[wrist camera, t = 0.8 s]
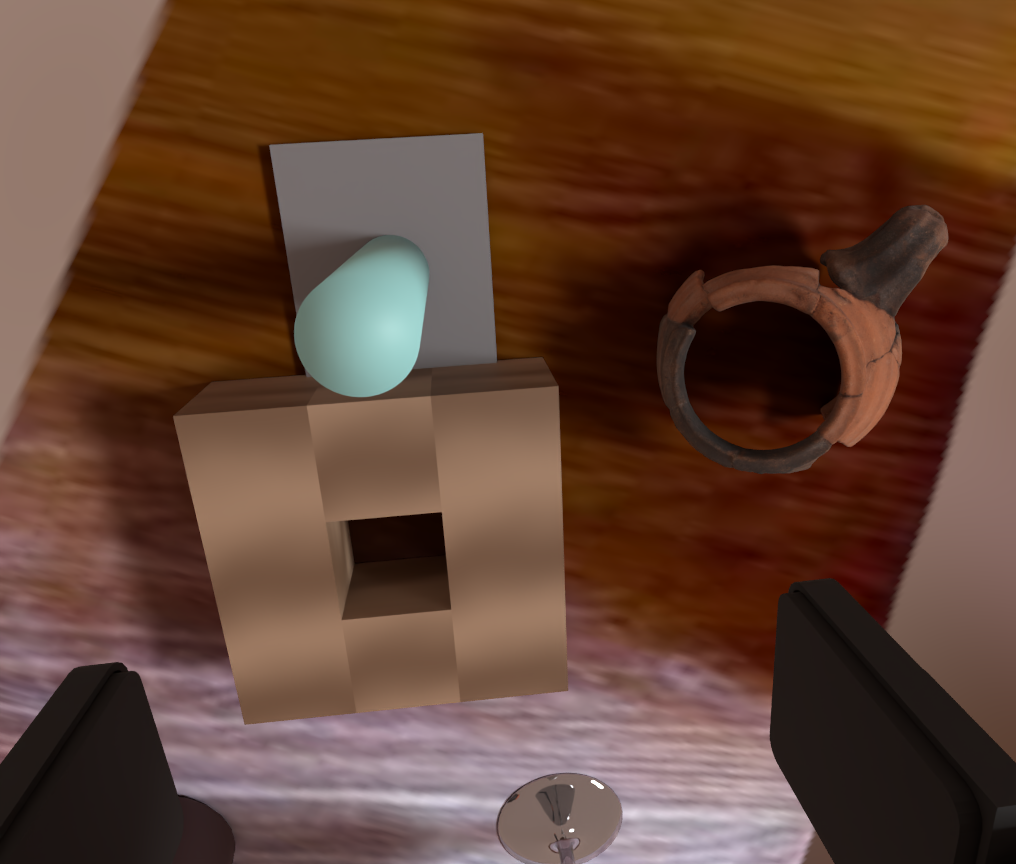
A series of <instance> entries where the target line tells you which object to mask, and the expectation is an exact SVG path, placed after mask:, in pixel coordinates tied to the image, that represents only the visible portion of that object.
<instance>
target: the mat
mask: <svg viewBox="0 0 1016 864" xmlns="http://www.w3.org/2000/svg"><path fill="white" fill-rule="evenodd" d="M269 146H270V153H271V159H272V165H273V171H274V178H275V184H276V190H277V196H278V203H279V209H280V215H281V221H282V228H283V234H284V240H285V246H286V253H287V259H288V265H289V271H290V278H291V284H292V290H293V296H294V303H295V309H296V315H297V313H298V310H299V308H300V306H301V304H302V303H303V301H304V300H305V298H306V297H307V296H308V295H309V293H310V292H311V291H312V290H313V289H315V288H316V287H317V286H318V285H319V284H320V283H322V282H323V281H324V280H325V279H326V278H327V277H328V276H330V275H331V274H332V273H333V272H334V271H335V270H337V269H338V268H339V267H340V266H341V265H342V264H343V263H345V262H346V261H347V260H348V259H349V258H350V257H352V256H353V255H354V254H355V253H356V252H357V251H358V250H360V249H361V248H362V247H363V246H364V245H365V244H367V243H368V242H369V241H371V240H372V239H374V238H377V237H380V236H384V235H396V236H401V237H404V238H406V239H408V240H410V241H412V242H413V243H414V244H415V245H417V246H418V247H419V248H420V250H421V251H422V252H423V254H424V256H425V258H426V260H427V263H428V266H429V284H428V291H427V298H426V305H425V313H424V320H423V327H422V334H421V341H420V348H419V353H418V357H417V359H416V362H415V364H414V366H413V368H412V369H421V368H435V367H448V366H461V365H475V364H488V363H497V353H496V337H495V321H494V305H493V289H492V273H491V257H490V241H489V224H488V208H487V192H486V176H485V160H484V144H483V133H477V134H459V135H441V136H423V137H404V138H386V139H368V140H350V141H332V142H313V143H295V144H277V145H269ZM305 371H306V377H312V376H311V375H310V374H309V372H308V371H307V370H306V368H305Z"/></svg>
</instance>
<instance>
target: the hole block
mask: <svg viewBox="0 0 1016 864" xmlns="http://www.w3.org/2000/svg"><path fill="white" fill-rule="evenodd" d="M173 419H174V423H175V427H176V431H177V436H178V440H179V444H180V449H181V453H182V457H183V462H184V466H185V470H186V474H187V479H188V483H189V487H190V492H191V496H192V500H193V504H194V509H195V513H196V517H197V522H198V526H199V530H200V535H201V539H202V543H203V547H204V552H205V556H206V560H207V565H208V569H209V573H210V578H211V582H212V586H213V590H214V595H215V599H216V603H217V608H218V612H219V616H220V620H221V625H222V629H223V633H224V638H225V642H226V646H227V651H228V655H229V659H230V663H231V668H232V672H233V676H234V681H235V685H236V689H237V693H238V698H239V702H240V706H241V711H242V715H243V719H244V724H245V725H246V724H256V723H265V722H275V721H284V720H294V719H304V718H313V717H323V716H332V715H342V714H351V713H361V712H370V711H380V710H389V709H399V708H408V707H418V706H428V705H437V704H447V703H456V702H466V701H475V700H485V699H494V698H504V697H513V696H523V695H533V694H542V693H552V692H561V691H568V675H567V643H566V611H565V579H564V547H563V515H562V483H561V451H560V419H559V387H558V384H557V383H556V381H555V379H554V377H553V375H552V373H551V372H550V370H549V368H548V366H547V364H546V362H545V361H544V359H543V357H536V358H523V359H510V360H497V363H488V364H475V365H461V366H448V367H435V368H421V369H412V370H411V371H410V373H409V374H408V375H407V377H406V378H405V379H404V380H403V381H402V382H401V383H399V384H398V385H397V386H395V387H394V388H392V389H390V390H389V391H387V392H384V393H382V394H379V395H375V396H369V397H351V396H346V395H342V394H339V393H336V392H334V391H332V390H330V389H328V388H326V387H324V386H323V385H321V384H320V383H319V382H318V381H316V380H315V379H314V378H313V377H306V375H297V376H283V377H270V378H257V379H243V380H230V381H217V382H211V383H210V384H209V385H208V386H206V387H205V388H204V389H203V390H202V391H201V392H200V393H199V394H197V395H196V396H195V397H194V398H193V399H192V400H191V401H189V402H188V403H187V404H186V405H185V406H184V407H183V408H182V409H180V410H179V411H178V412H177V413H176V414H175V415H174V416H173ZM436 512H442V519H443V529H444V539H445V549H446V555H443V556H432V557H421V558H410V559H399V560H388V561H377V562H366V563H354V557H353V550H352V543H351V537H350V530H349V523H348V520H357V519H368V518H379V517H391V516H402V515H414V514H425V513H436Z"/></svg>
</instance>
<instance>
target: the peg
mask: <svg viewBox="0 0 1016 864" xmlns="http://www.w3.org/2000/svg"><path fill="white" fill-rule="evenodd" d="M428 284H429V266H428V263H427V260H426V258H425V256H424V254H423V252H422V251H421V250H420V248H419V247H418V246H417V245H415V244H414V243H413V242H412V241H410V240H408V239H406V238H404V237H401V236H396V235H384V236H380V237H377V238H374V239H372V240H371V241H369V242H368V243H367V244H365V245H364V246H363V247H362V248H361V249H360V250H358V251H357V252H356V253H355V254H354V255H353V256H352V257H350V258H349V259H348V260H347V261H346V262H345V263H343V264H342V265H341V266H340V267H339V268H338V269H337V270H335V271H334V272H333V273H332V274H331V275H330V276H328V277H327V278H326V279H325V280H324V281H323V282H322V283H320V284H319V285H318V286H317V287H316V288H315V289H313V290H312V291H311V292H310V293H309V295H308V296H307V297H306V298H305V300H304V301H303V303H302V304H301V306H300V308H299V310H298V313H297V316H296V320H295V325H294V340H295V346H296V350H297V353H298V355H299V358H300V360H301V362H302V364H303V366H304V367H305V368H306V370H307V371H308V372H309V374H310V375H311V376H312V377H313V378H314V379H315V380H316V381H318V382H319V383H320V384H321V385H323V386H324V387H326V388H328V389H330V390H332V391H334V392H336V393H339V394H342V395H346V396H351V397H369V396H375V395H379V394H382V393H384V392H387V391H389V390H390V389H392V388H394V387H395V386H397V385H398V384H399V383H401V382H402V381H403V380H404V379H405V378H406V377H407V375H408V374H409V373H410V371H411V370H412V368H413V366H414V364H415V362H416V359H417V357H418V353H419V348H420V341H421V334H422V327H423V320H424V313H425V305H426V298H427V291H428Z"/></svg>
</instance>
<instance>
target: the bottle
mask: <svg viewBox="0 0 1016 864" xmlns="http://www.w3.org/2000/svg"><path fill="white" fill-rule="evenodd" d="M179 800H180V803H181V807H182V810H183V815H184V827H183V834H182V838H181V841H180V844H179V846H178V849H177V851H176V854H175V856H174V859H173V862H172V864H232V862H233V856H234V851H235V841H234V837H233V833H232V830H231V828H230V827H229V825H228V824H227V823H226V821H225V820H224V819H223V817H222V816H221V815H220V814H218V813H217V812H215V811H214V810H213V809H211V808H210V807H208V806H207V805H206V804H203V803H200V802H197V801H195V800H192V799H189V798H184V797H179Z"/></svg>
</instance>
